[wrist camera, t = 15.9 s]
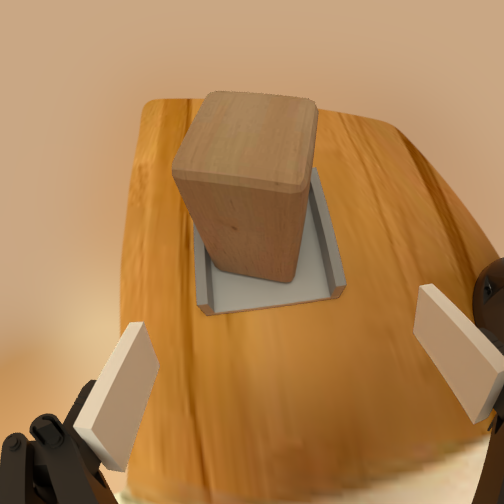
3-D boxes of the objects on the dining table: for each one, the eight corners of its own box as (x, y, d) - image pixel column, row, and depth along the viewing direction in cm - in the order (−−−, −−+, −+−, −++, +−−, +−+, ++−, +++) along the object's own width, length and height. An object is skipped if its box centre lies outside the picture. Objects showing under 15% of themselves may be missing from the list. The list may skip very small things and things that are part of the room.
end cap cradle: (312, 189, 44) (316, 167, 40) (338, 297, 37) (346, 284, 33) (200, 204, 45) (192, 183, 40) (206, 315, 38) (196, 305, 33)
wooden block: (213, 271, 39) (163, 169, 21) (233, 205, 43) (206, 86, 25) (292, 286, 38) (306, 187, 19) (305, 216, 41) (320, 95, 23)
